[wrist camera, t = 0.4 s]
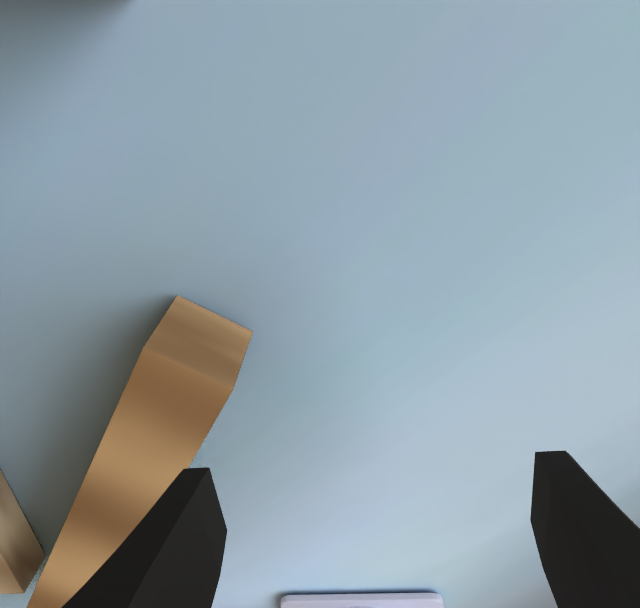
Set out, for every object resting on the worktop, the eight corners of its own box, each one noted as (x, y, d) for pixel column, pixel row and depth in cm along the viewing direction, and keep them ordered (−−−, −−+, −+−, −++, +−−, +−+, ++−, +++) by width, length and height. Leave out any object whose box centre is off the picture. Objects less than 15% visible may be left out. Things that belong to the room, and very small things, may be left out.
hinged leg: (112, 583, 28) (77, 661, 24) (55, 561, 27) (11, 638, 24) (253, 331, 20) (231, 395, 17) (177, 295, 20) (139, 353, 16)
